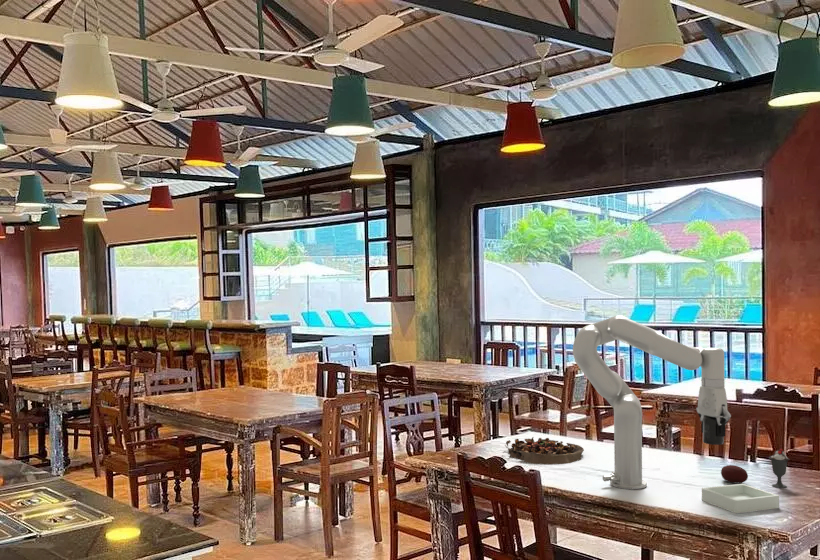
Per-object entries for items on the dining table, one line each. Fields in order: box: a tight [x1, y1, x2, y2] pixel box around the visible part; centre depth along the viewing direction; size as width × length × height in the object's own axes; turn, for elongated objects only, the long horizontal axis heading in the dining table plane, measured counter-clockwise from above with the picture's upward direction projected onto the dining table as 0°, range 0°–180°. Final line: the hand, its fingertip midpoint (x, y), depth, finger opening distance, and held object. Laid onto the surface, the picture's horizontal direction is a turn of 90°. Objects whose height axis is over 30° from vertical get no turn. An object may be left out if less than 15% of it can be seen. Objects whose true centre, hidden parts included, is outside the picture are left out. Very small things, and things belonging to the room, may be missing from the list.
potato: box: [720, 464, 749, 484], centre depth 286 cm, size 7×10×6 cm
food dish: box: [504, 436, 585, 465], centre depth 333 cm, size 35×33×8 cm
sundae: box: [768, 445, 790, 489], centre depth 280 cm, size 7×7×15 cm
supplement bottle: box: [702, 416, 725, 446], centre depth 275 cm, size 7×7×12 cm
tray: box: [701, 483, 780, 514], centre depth 258 cm, size 17×16×4 cm
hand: (713, 434), depth 275 cm, fingers closed on supplement bottle, 6 cm apart
